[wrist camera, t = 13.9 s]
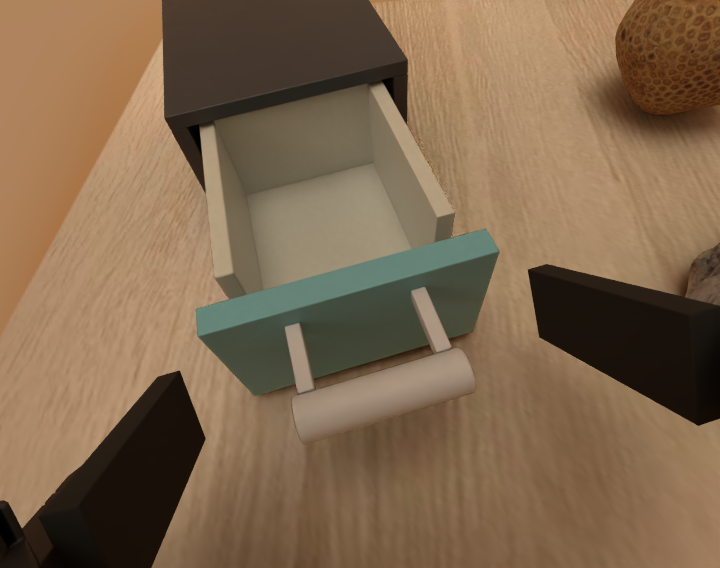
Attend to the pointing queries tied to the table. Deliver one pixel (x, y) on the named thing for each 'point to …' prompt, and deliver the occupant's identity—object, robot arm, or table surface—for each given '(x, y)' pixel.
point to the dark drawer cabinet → (268, 59)
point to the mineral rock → (705, 277)
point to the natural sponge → (671, 54)
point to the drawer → (337, 260)
